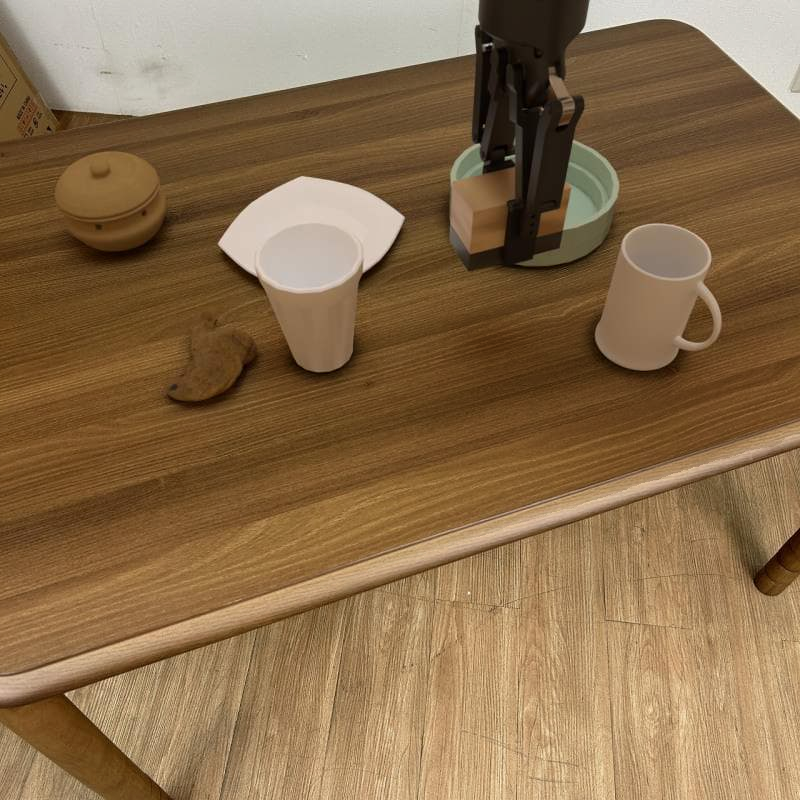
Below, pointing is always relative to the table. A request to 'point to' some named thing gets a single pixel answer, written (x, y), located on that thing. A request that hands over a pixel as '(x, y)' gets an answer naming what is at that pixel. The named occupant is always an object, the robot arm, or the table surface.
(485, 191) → the block
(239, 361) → the ginger root
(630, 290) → the mug
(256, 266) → the cup
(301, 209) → the plate
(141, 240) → the pot
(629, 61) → the table surface
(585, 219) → the bowl
